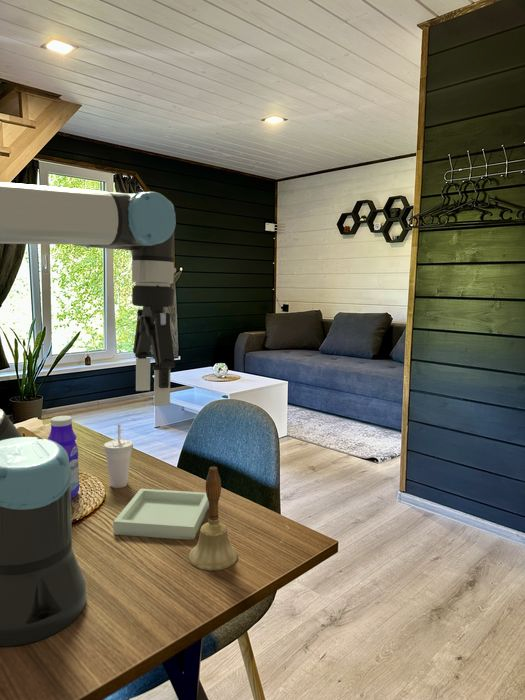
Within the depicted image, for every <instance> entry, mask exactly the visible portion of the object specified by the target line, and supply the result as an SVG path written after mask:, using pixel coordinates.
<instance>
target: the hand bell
mask: <svg viewBox="0 0 525 700" xmlns="http://www.w3.org/2000/svg"><path fill="white" fill-rule="evenodd" d="M205 493H206V495H207V498H208V502H209V508H208V522H206V523H204V524H201V526H200V528H199V537H198V541H197V542H196V543H197V544H196V545H195V546H194V547H193V548H192V549H191V550H190V552H189V554H188V561H189V563H190V564H191V565H192V566H193V567H195V568H196V569H200V570H202V571H211V572H212V571H213V572H214V571H221V570H225V569H228V568H230V567H231V566H233V565H234V564H235V563H236V562H237V561H238V559H239V558H238V556H239V555H238V552H237V550H236V549H235V547H234V546H232V545H231V543H230V541H229V536H228V528H227V525H226V524H225V523H222V522H220V519H219V518H220V517H219V501H220V498H221V493H222V480H221V476H220V474H219V469H218V467H217V466H210V467H209V468H208V474H207V476H206V479H205Z"/></svg>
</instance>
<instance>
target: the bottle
mask: <svg viewBox="0 0 525 700" xmlns="http://www.w3.org/2000/svg"><path fill="white" fill-rule="evenodd" d="M72 420H73V419H72V416H70V415H58V416H54V417H51V418H50V432H49V435H48V437H47V439H49V440H52V441H54V442H56V443H58V444H60V445H61V446H62V447H63V448H64V449H65V450H66V452H67V454H68V457H69V465H70V469H71V500H73V499H74V498H75V497H76V496H77V495H78V494H79V490H80V471H79V470H80V469H79V468H80V467H79V447H78V444H77V442H76V440H77V435H76V433H75V431H74V429H73V421H72ZM73 497H74V498H73ZM72 498H73V499H72Z"/></svg>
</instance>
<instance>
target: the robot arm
mask: <svg viewBox="0 0 525 700" xmlns="http://www.w3.org/2000/svg"><path fill="white" fill-rule="evenodd" d="M176 220H177V219H176V211H175V206H174V204H173V203H172V201H171V200H169V199H168V198H167V197H166V196H164V195H163V194H161V193H160V192H156V191H139V192H137V193H126V192H118V191H117V192H115V191H110V192H109V191H105V190H93V189H92V190H91V189H83V188H73V187H72V188H70V187H58V186H50V185H49V186H48V185H39V184H38V185H37V184H26V183H15V182H5V181H4V182H2V181H0V244H3V245H4V244H6V245H7V244H8V245H10V244H11V245H18V244H19V245H74V246H78V247H85V248H86V249H89V248H95V249H97V248H98V249H106V250H107V249H111V250H125V251H131V252H132V260H131V281H132V283H134V285H133V286H132V288H131V290H132V291H131V304H132V305H133V306H134V307H135V306H136V307H142V308H138V309H137V311H136V312H137V313H136V314H137V315H136V318H137V319H136V326H135V327H136V328H135V335H134V342H133V349H132V352H133V354H134V356H135V391H136V392H144V391H150V390H151V370H152V371H153V372H154V373H153V374H154V375H153V380H154V381H153V406H154V407H162V406H163V407H164V406H170V405H171V370H172V368H175V367H176V362H175V361H176V360H175V356H174V355H175V354H174V346H173V340H172V339H173V338H172V331H171V330H172V329H171V314H170V312H165V311H164V308H170V307H173V306H174V291H175V289H174V288H173V286H171V284H173V283H174V276H175V275H174V274H175V273H176V272H177V268H176V267H174V266H175V265H174V264H175V263H174V262H175V235H176V234H175V232H176V231H175V230H176V229H175V228H176V225H177V223H176V222H177V221H176ZM151 348H152V352H151ZM152 354H153V355H152ZM151 358H154V362H155V363H154V364H153V366H152V369H151ZM72 535H73V534H72V499H71V469H70V465H69V457H68V454H67V452H66V450H65V449H64V448H63V447H62V446H61V445H60V444H58V443H56V442H54V441H52V440H49V439H48V438H42V439H40V437H39V436H37V437H36V436H23V435H22V434H21V433H20V431H19V430H18V429H17V427H16V426H15V425H14V423H13V422H12V421H11V419H10V418H9V416H8V415H7V414H6V413H5V411H4V410H3V409H1V408H0V647H12V646H13V647H14V646H21V645H25V644H26V645H27V644H31V643H33V642H37V641H40V640H43V639H45V638H48V637H51V636H52V635H55V634H56V633H58V632H60V631H61V630H63V629H65V628H67V627H68V626H69V625H70V624H71V623H73V622H74V621H75V620H76V619H77V618H78V617H79V616H80V614H81V613H82V612H83V610H84V608H85V607H86V602H87V584H86V580H85V577H84V575H83V573H82V570H81V568H80V565H79V563H78V560H77V558H76V555H75V553H74V551H73V546H72V545H73V540H72Z"/></svg>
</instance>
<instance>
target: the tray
mask: <svg viewBox="0 0 525 700" xmlns="http://www.w3.org/2000/svg"><path fill="white" fill-rule="evenodd" d="M208 511H209V502H208V498H207V495H206V492H204V491H203V492H200V491H199V492H198V491H187V490H186V491H184V490H183V491H182V490H173V489H172V490H169V489H154V488H153V489H152V488H140V489H139V490H138V491H137V492H136V494H135V495H134V496H133V497H132V498H131V500H130V501H129V502H128V503H127V505H125V507H124V508H123V509H122V510H121V511H120V513H119V514H118V515H117V516H116V518H115V519H114V520H113V535H118V536H119V535H120V536H130V537H133V536H134V537H146V538H156V539H157V538H159V539H160V538H161V539H172V540H173V539H174V540H184V541H185V540H187V541H195V539H196V537H197V534H198V533H199V531H200V529H201V527H202V525H203V524H202V523H203V521H204V519H205V517H206V515H207V512H208Z"/></svg>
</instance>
